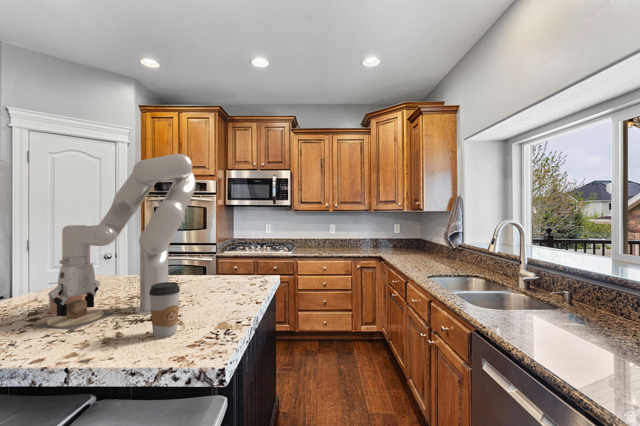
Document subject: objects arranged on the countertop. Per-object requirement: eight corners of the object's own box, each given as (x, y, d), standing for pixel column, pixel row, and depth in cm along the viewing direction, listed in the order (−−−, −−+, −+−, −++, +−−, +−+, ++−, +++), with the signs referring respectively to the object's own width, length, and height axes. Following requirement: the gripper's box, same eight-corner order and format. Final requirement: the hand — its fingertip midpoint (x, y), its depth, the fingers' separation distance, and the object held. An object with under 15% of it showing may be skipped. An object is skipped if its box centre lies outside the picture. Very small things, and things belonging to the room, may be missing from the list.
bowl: (101, 305, 123) (101, 290, 123) (69, 315, 111) (69, 298, 111) (74, 303, 126) (74, 288, 126) (39, 313, 113) (39, 297, 113)
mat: (116, 315, 111) (116, 313, 111) (73, 331, 95) (73, 329, 95) (79, 312, 114) (79, 311, 114) (31, 328, 98) (31, 326, 98)
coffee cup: (159, 342, 87) (159, 289, 87) (143, 336, 91) (143, 285, 91) (186, 332, 94) (185, 283, 94) (170, 327, 98) (169, 280, 98)
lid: (113, 313, 111) (113, 296, 111) (73, 328, 96) (73, 309, 96) (79, 311, 113) (79, 295, 113) (34, 326, 99) (34, 307, 99)
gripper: (59, 265, 96) (59, 320, 95) (107, 258, 113) (107, 304, 112) (40, 265, 97) (39, 319, 97) (90, 257, 114) (90, 303, 114)
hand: (76, 311), depth 105 cm, fingers open, 9 cm apart
